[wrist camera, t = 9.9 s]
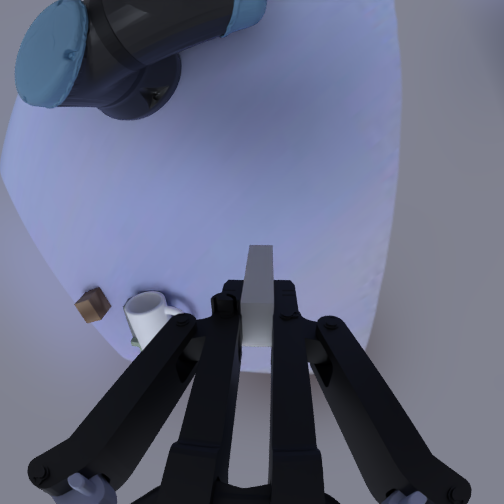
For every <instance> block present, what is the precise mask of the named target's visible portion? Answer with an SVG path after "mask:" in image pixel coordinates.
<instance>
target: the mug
mask: <svg viewBox="0 0 504 504" xmlns="http://www.w3.org/2000/svg"><path fill="white" fill-rule="evenodd" d="M125 312H126V314H127V316H128V319H129V321H130V324H131V326H132V328H133V331H134V333H135V335H136V337H137V339H138V342H139V344H140V346H141V348H142V350H143V349H144V348H145V347H146V346H147V345H148V343H149V342H150V341H151V340H152V339H153V338H154V337H155V335H156V334H157V333H158V332H159V331H160V330H161V328H162V327H163V326H164V325H165V324H166V323H167V322H168V320H169V319H170V318H171V315H176V314H180V313H184V312H183V311H182V310H180V309H178V308H176V307H172V306H168V305H167V302H166V299H165V296H164V295H163V294H162V293H160V292H157V291H147V292H143V293H140V294H137V295H135V296H134V297H132V298H131V299H130V300H129V301H128V302H127V303H126V305H125Z"/></svg>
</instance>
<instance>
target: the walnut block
mask: <svg viewBox="0 0 504 504" xmlns="http://www.w3.org/2000/svg"><path fill="white" fill-rule="evenodd" d="M75 306H76V308H77V309H78V311H79V312H80V314H81V315H82V317H83V318H84V320H85V321H86V322H87V323H90V322H94V321H98V320H101V319H102V318H103V317H104V315H105V314H106V313H107V311H108V310H109V309H110V307H111V305H110V303H109V301H108V300H107V298H106V297H105V295H104V294H103V292H102V290H101V289H100V287H98V288H96V289H93V290H90V291H88V292H85V293H84V295H83V296H82V297H81V298H80V299H79V300H78V301H77V302H76V303H75Z"/></svg>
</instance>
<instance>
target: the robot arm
mask: <svg viewBox="0 0 504 504" xmlns="http://www.w3.org/2000/svg"><path fill="white" fill-rule="evenodd" d="M266 5H267V0H84V1H81V0H58V1H56V2H54V3H52V4H51V5H50V6H48V7H47V8H46V9H45V10H43V11H42V12H41V13H40V15H39V16H38V17H37V18H36V19H35V20H34V22H33V23H32V24H31V26H30V28H29V29H28V31H27V33H26V34H25V37H24V39H23V41H22V43H21V46H20V49H19V52H18V55H17V59H16V65H15V84H16V88H17V91H18V94H19V96H20V97H21V99H22V100H23V101H24V102H25V103H28V104H29V105H32V106H39V107H46V108H49V109H50V108H54V107H97V108H98V109H99V110H101V111H102V112H103V113H104V114H106V115H107V116H109V117H111V118H114V119H118V120H137V119H141V118H144V117H147V116H149V115H151V114H153V113H154V112H156V111H157V110H159V109H160V108H161V107H162V106H163V105H164V104H165V103H166V102H167V101H168V100H169V99H170V97H171V96H172V94H173V93H174V91H175V89H176V87H177V85H178V82H179V78H180V73H181V62H180V58H179V55H178V52H180V51H182V50H185V49H187V48H190V47H192V46H195V45H197V44H200V43H203V42H205V41H208V40H211V39H214V38H217V37H220V38H223V37H226V36H227V35H228V34H229V33H232V32H235V31H238V30H241V29H244V28H247V27H250V26H253V25H255V24H257V23H258V22H259V21H260V19H261V18H262V17H263V15H264V13H265V10H266ZM211 306H212V316H211V317H208V318H205V319H199V320H196V318H195V317H194V316H193V315H191V314H189V313H180V314H176V315H174V316H173V317H171V318H170V319H169V320H168V322H167V323H166V324H165V325H164V326H163V327H162V328H161V330H160V331H159V332H158V333H157V334H156V335H155V337H154V338H153V339H152V340H151V341H150V342H149V343H148V345H147V346H146V347H145V348H144V349H143V350H142V352H141V353H140V354H139V355H138V356H137V357H136V359H135V360H134V361H133V362H132V363H131V364H130V366H129V367H128V368H127V369H126V370H125V372H124V373H123V374H122V375H121V376H120V377H119V379H118V380H117V381H116V382H115V383H114V385H113V386H112V387H111V388H110V390H108V392H107V393H106V394H105V395H104V397H103V398H102V399H101V400H100V401H99V402H98V404H97V405H96V406H95V407H94V409H93V410H92V411H91V412H90V413H89V415H88V416H87V417H86V418H85V420H84V421H83V422H82V423H81V424H80V425H79V427H78V428H77V429H76V431H75V432H74V433H73V434H72V435H71V436H70V438H68V439H67V440H65V441H64V442H62V443H60V444H58V445H57V446H55V447H53V448H52V449H50V450H48V451H46V452H45V453H43V454H41V455H39V456H38V457H36V458H34V459H33V460H32V461H31V462H30V464H29V466H28V476H29V479H30V481H31V482H32V483H33V484H34V485H35V486H37V487H38V488H39V489H41V490H43V491H44V492H46V493H48V494H49V495H51V496H52V498H53V499H54V501H55V502H56V504H117V496H116V492H115V491H116V490H118V489H119V488H120V487H121V486H122V485H123V484H124V483H125V482H126V481H127V480H128V478H129V477H130V476H131V474H132V473H133V471H134V470H135V468H136V467H137V465H138V464H139V462H140V461H141V459H142V457H143V456H144V454H145V453H146V451H147V450H148V448H149V447H150V445H151V443H152V442H153V440H154V439H155V437H156V436H157V434H158V432H159V431H160V429H161V428H162V426H163V424H164V423H165V421H166V420H167V418H168V417H169V415H170V413H171V412H172V410H173V409H174V407H175V406H176V404H177V402H178V401H179V399H180V397H181V396H182V394H183V393H184V391H185V389H186V388H187V386H188V385H189V383H190V382H191V380H192V378H193V377H194V375H195V378H194V382H193V386H192V389H191V393H190V397H189V400H188V404H187V408H186V412H185V416H184V420H183V424H182V428H181V432H180V435H179V439H178V441H177V442H175V443H173V444H172V446H171V448H170V451H169V455H168V458H167V462H166V466H165V470H164V474H163V478H162V482H161V485H160V486H158V487H156V488H155V489H153V490H151V491H150V492H148V493H147V494H145V495H144V496H142V497H140V498H139V499H137V500H136V501H134V502H132V503H131V504H340V503H339V502H338V501H337V500H335V499H334V498H333V497H331V496H330V495H328V494H326V493H324V481H323V467H322V458H321V453H320V450H319V449H317V445H316V435H315V423H314V415H313V404H312V395H311V386H310V378H309V369H308V362H310V366H311V368H312V370H313V372H314V374H315V376H316V378H317V381H318V382H319V385H320V387H321V389H322V391H323V393H324V395H325V398H326V400H327V402H328V404H329V406H330V408H331V410H332V412H333V415H334V417H335V419H336V421H337V423H338V425H339V427H340V429H341V432H342V434H343V436H344V438H345V440H346V442H347V444H348V446H349V449H350V451H351V453H352V455H353V457H354V459H355V461H356V464H357V466H358V468H359V470H360V472H361V474H362V477H363V479H364V481H365V483H366V485H367V487H368V489H369V491H370V492H371V494H372V495H373V497H374V498H375V499H376V501H377V502H378V503H379V504H467V503H468V501H469V499H470V497H471V486H470V484H469V483H468V481H467V480H466V479H464V478H463V477H462V476H460V475H459V474H457V473H456V472H455V471H453V470H452V469H451V468H449V467H448V466H447V465H445V464H444V463H443V462H441V461H440V460H438V459H437V458H436V457H435V456H433V455H432V453H431V452H430V450H429V449H428V447H427V445H426V444H425V442H424V441H423V439H422V437H421V436H420V434H419V433H418V431H417V430H416V428H415V426H414V425H413V423H412V422H411V420H410V418H409V417H408V416H407V414H406V412H405V411H404V409H403V408H402V406H401V405H400V403H399V402H398V400H397V398H396V397H395V396H394V394H393V392H392V391H391V389H390V388H389V387H388V385H387V383H386V382H385V380H384V379H383V377H382V376H381V375H380V373H379V372H378V370H377V369H376V367H375V366H374V364H373V363H372V361H371V360H370V358H369V357H368V356H367V354H366V353H365V351H364V350H363V348H362V347H361V346H360V344H359V343H358V341H357V340H356V338H355V337H354V336H353V334H352V333H351V331H350V330H349V328H348V327H347V326H346V324H345V323H344V322H343V321H342V320H341V319H340V318H338V317H335V316H324V317H321V318H320V319H319V320H318V321H317V322H315V321H310V320H307V319H305V318H303V317H302V316H301V314H300V312H299V311H298V305H297V298H296V291H295V285H294V284H293V283H292V282H291V281H290V280H273V245H250V246H249V253H248V259H247V265H246V271H245V277H244V280H228V281H227V282H226V283H225V284H224V286H223V290H222V292H221V293H218V294H216V295H214V296H213V297H212V298H211ZM242 346H250V347H272V349H271V407H270V446H269V474H268V484H267V485H262V486H257V487H250V488H239V487H236V486H233V485H229V484H228V468H229V459H230V450H231V442H232V433H233V425H234V417H235V408H236V400H237V391H238V382H239V374H240V366H241V357H242ZM195 373H196V374H195Z"/></svg>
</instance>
